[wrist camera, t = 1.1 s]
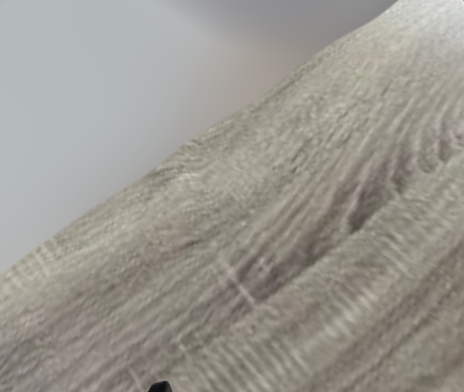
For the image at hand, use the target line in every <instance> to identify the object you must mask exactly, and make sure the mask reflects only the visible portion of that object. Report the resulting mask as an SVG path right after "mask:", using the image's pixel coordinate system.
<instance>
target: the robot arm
mask: <svg viewBox="0 0 464 392" xmlns="http://www.w3.org/2000/svg"><path fill="white" fill-rule="evenodd" d="M148 392H172V390H171V387H170V384H169V383H168V381H162V382H158V383H154V384H153V385H152V386H151V387H150V389H149V391H148Z"/></svg>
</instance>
